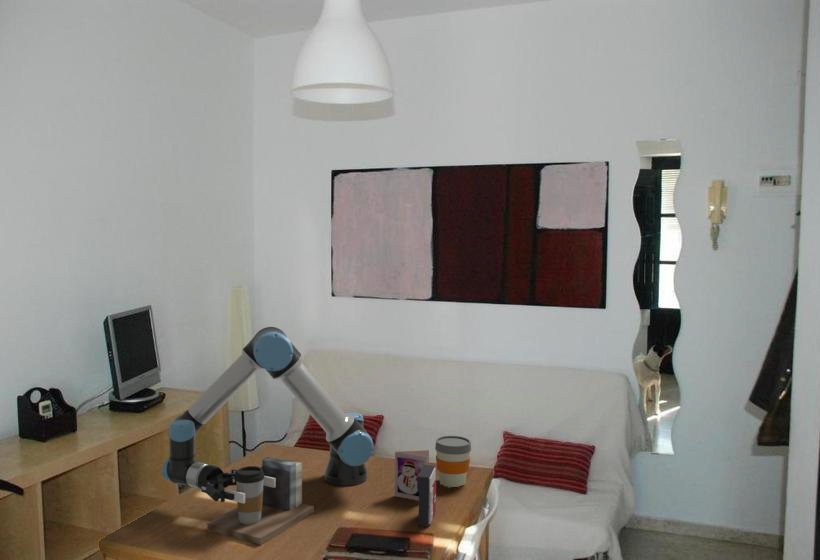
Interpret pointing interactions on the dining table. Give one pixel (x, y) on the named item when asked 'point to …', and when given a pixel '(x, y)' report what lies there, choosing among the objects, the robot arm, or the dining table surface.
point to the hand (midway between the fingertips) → (260, 490)
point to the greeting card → (409, 472)
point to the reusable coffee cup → (452, 460)
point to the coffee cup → (250, 493)
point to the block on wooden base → (270, 505)
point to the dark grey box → (426, 494)
